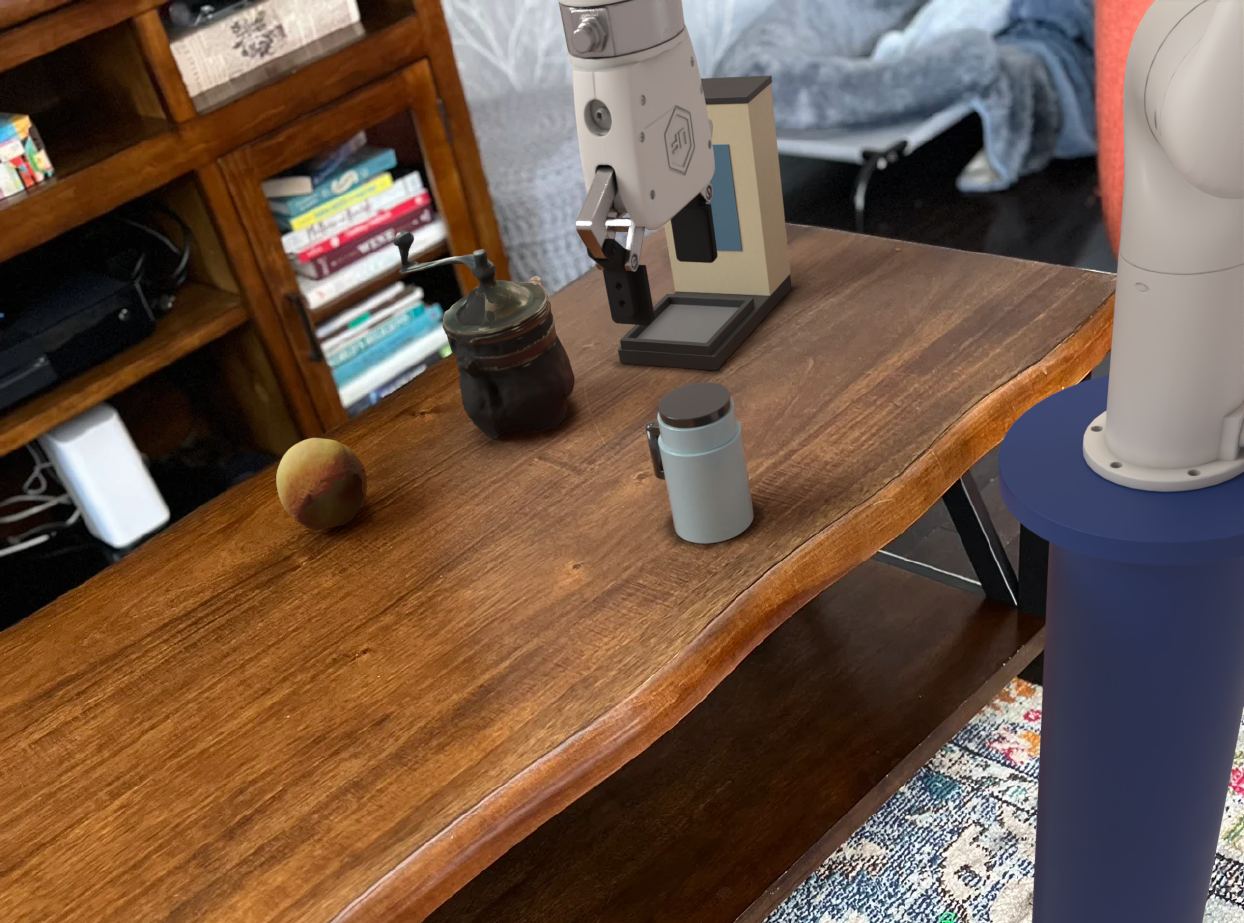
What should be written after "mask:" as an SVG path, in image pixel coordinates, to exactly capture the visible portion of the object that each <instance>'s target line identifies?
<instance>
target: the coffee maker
mask: <svg viewBox="0 0 1244 923" xmlns="http://www.w3.org/2000/svg"><path fill="white" fill-rule="evenodd" d="M772 76H773V75H751V76H749V75H748V76H727V77H709V78H708V77H705V78H702V77H701V82H702V87H703V92H704V98H705V103H706V108H707V114H708V119H710V120H711V121H712V123H713V134H712V145H713V152H714V160H715V171H714V175H713V177H712V179H711V181H710V183H711V185H712V187H713V197H712V200H711V202H706V204H711V208H712V216H713V223H714V231H715V239H716V247H717V254H718V256H717V259H716V260H715V261H714V262H712V263H700V262H681V261H679V260H677V258H676V252H675V245H674V239H673V232H672V225H671V219H670V220H669V221H668V222H667V223H666V224H665V225H663V226H664V231H665V237H666V243H667V250H668V254H669V262H670V268H671V273H672V274H671V275H672V279H673V285H674V293H666V294H665V295H664V296H663V297H662V298H661V299H660V300H659V301H658V302H657V303H655V305H653V310H654V316H655V319H654V321H653V322H652V323H651V324H650V325H648V326H647V325H634V326H633V327H631V328H630V329H629V330H628V332H626V333H625V334H624V335H623V336H622V337H621V338H620V339H619V343H620V346H619V347H618V348H617V353H618V358H619V362H620V364H627V365H639V366H655V367H665V368H666V367H667V368H677V369H678V368H679V369H691V370H706V371H718V370H719V369H720V368H721V367H722V366H723V365H724V364H725V362H726V361H727V360H729V359H730V357H731V356H732V355H733V353H734V352H735V351H736V350H737V349H738V348H739V347H740V346H741V345H742V344H743V343H744V341H745V340H746V339H747V338H748V337H749V336H750V335H751V334H752V333H753V332H754V330H755V329H756V328H757V327H758V326H759V325H760V323H762V321H763V320H765V318H766V317H767V316H768V315H769V313H771V311H773V309H775V307H776V306H777V305H778V303H780V301H782V299H783V298H785V296H786V295H787V294H788V293H789V291H790V290H791V289H792V287H793V286H792V276H791V266H790V254H789V246H788V236H787V226H786V217H785V207H784V198H783V187H782V178H781V167H780V159H779V158H780V157H779V149H778V138H777V130H776V120H775V111H774V110H775V108H774V100H773V90H772V83H773V77H772Z"/></svg>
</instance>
